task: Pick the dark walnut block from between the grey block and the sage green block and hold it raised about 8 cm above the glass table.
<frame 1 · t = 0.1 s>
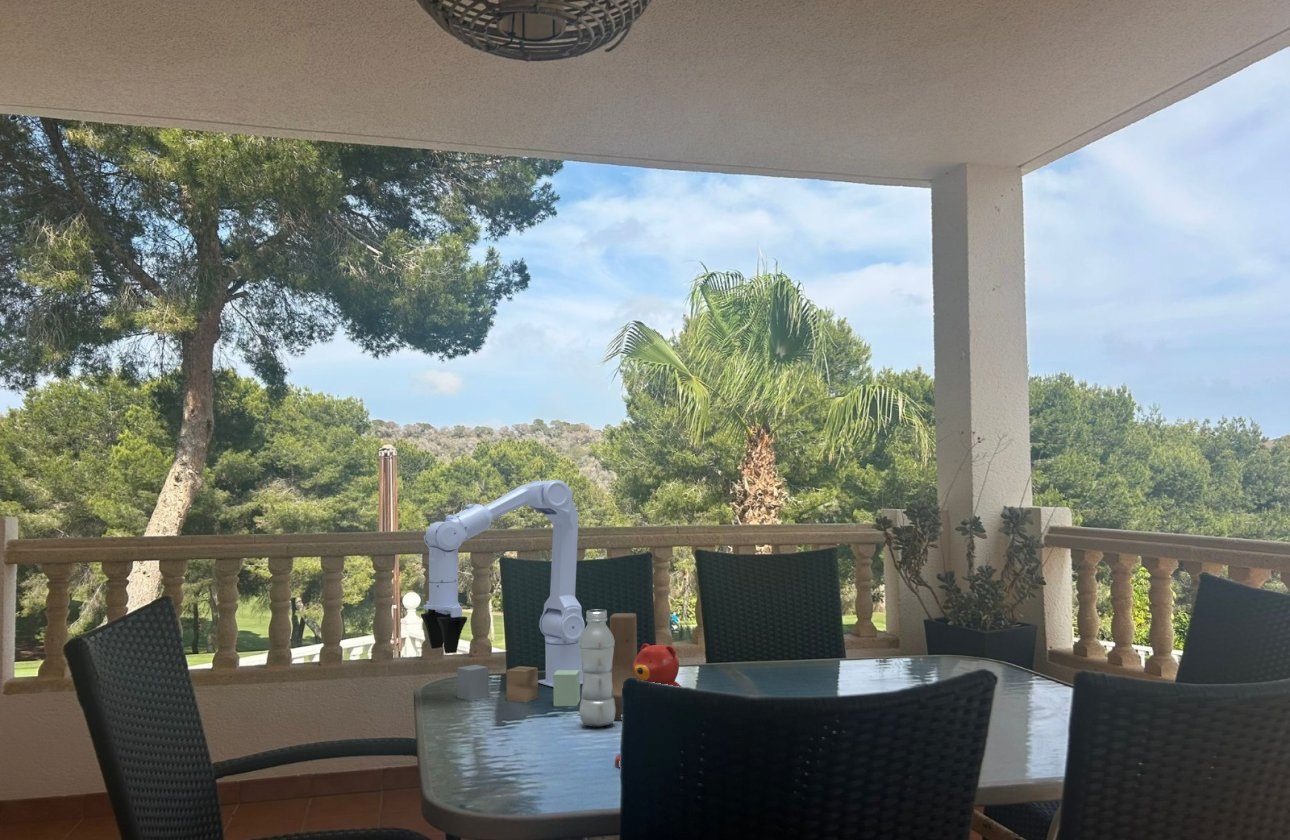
hand: (443, 650, 186), 10 cm above the table, tool pointing down, fingers open, 7 cm apart
sage block: (566, 703, 183), on the table
stacking bear: (658, 766, 140), on the table
walnut block: (522, 699, 187), on the table
grey block: (472, 697, 189), on the table
wooden block: (622, 716, 172), on the table
plastic bottle: (597, 726, 164), on the table
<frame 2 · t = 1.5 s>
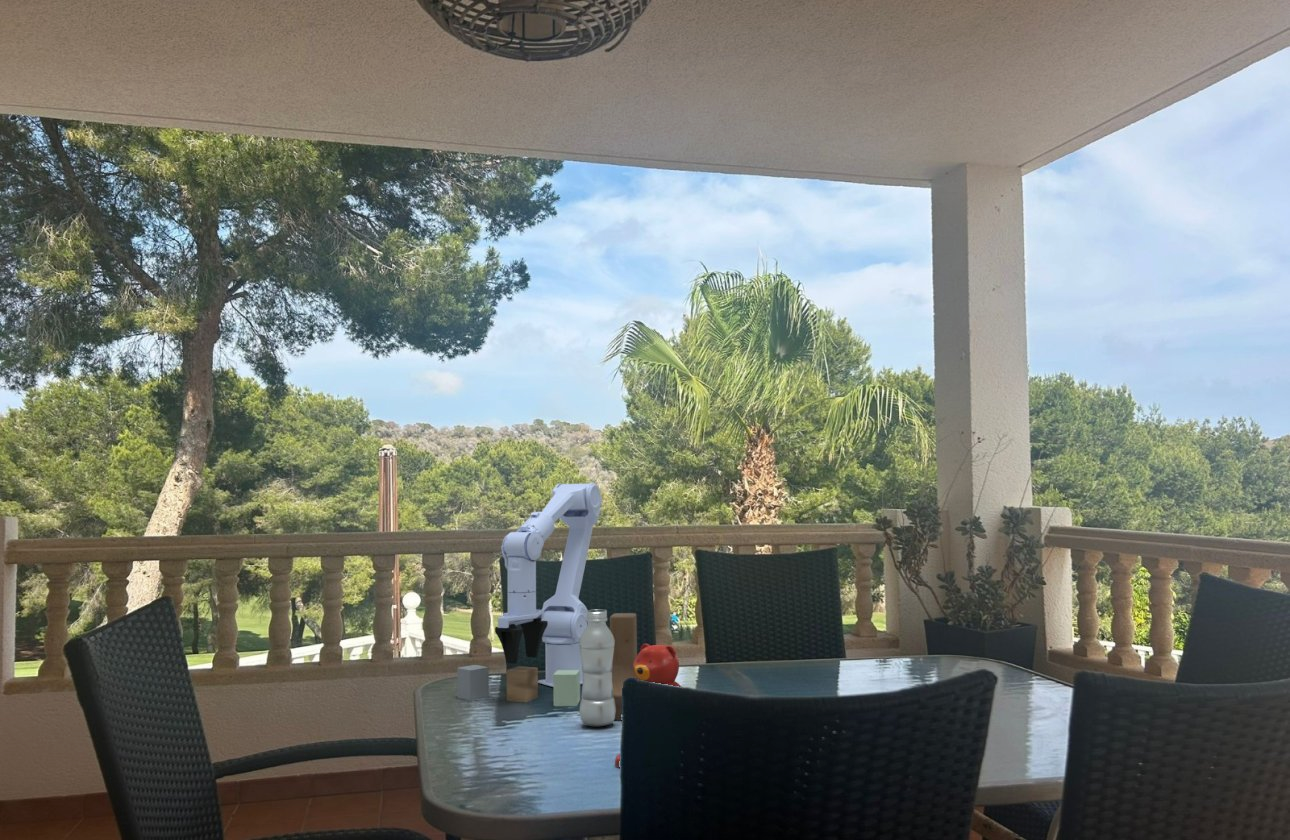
hand: (521, 660, 187), 8 cm above the table, tool pointing down, fingers open, 7 cm apart
nothing on the table moved.
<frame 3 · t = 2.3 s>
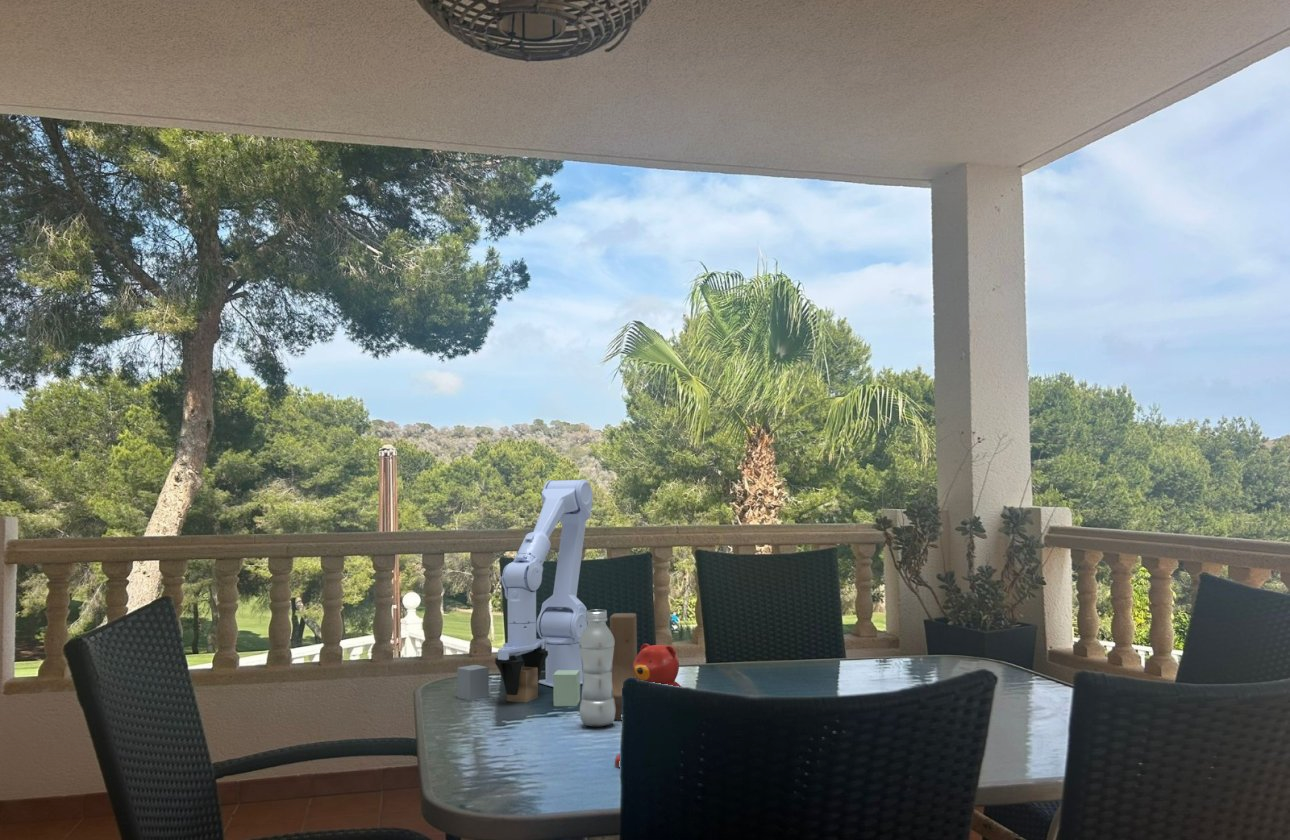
hand: (522, 690, 187), 2 cm above the table, tool pointing down, fingers open, 7 cm apart
nothing on the table moved.
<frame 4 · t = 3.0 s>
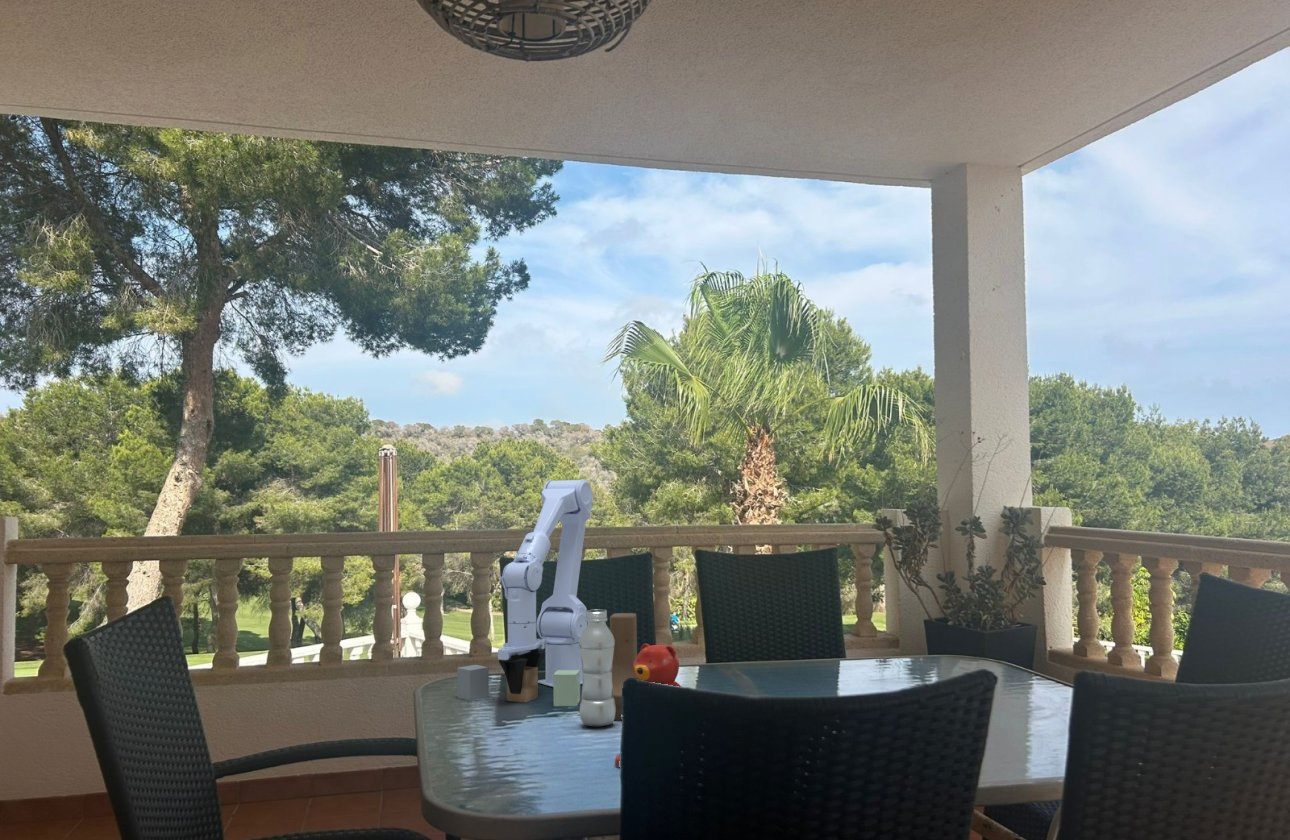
hand: (522, 690, 187), 2 cm above the table, tool pointing down, fingers closed on walnut block, 4 cm apart
walnut block: (522, 699, 187), on the table, touching gripper
everything else where it was.
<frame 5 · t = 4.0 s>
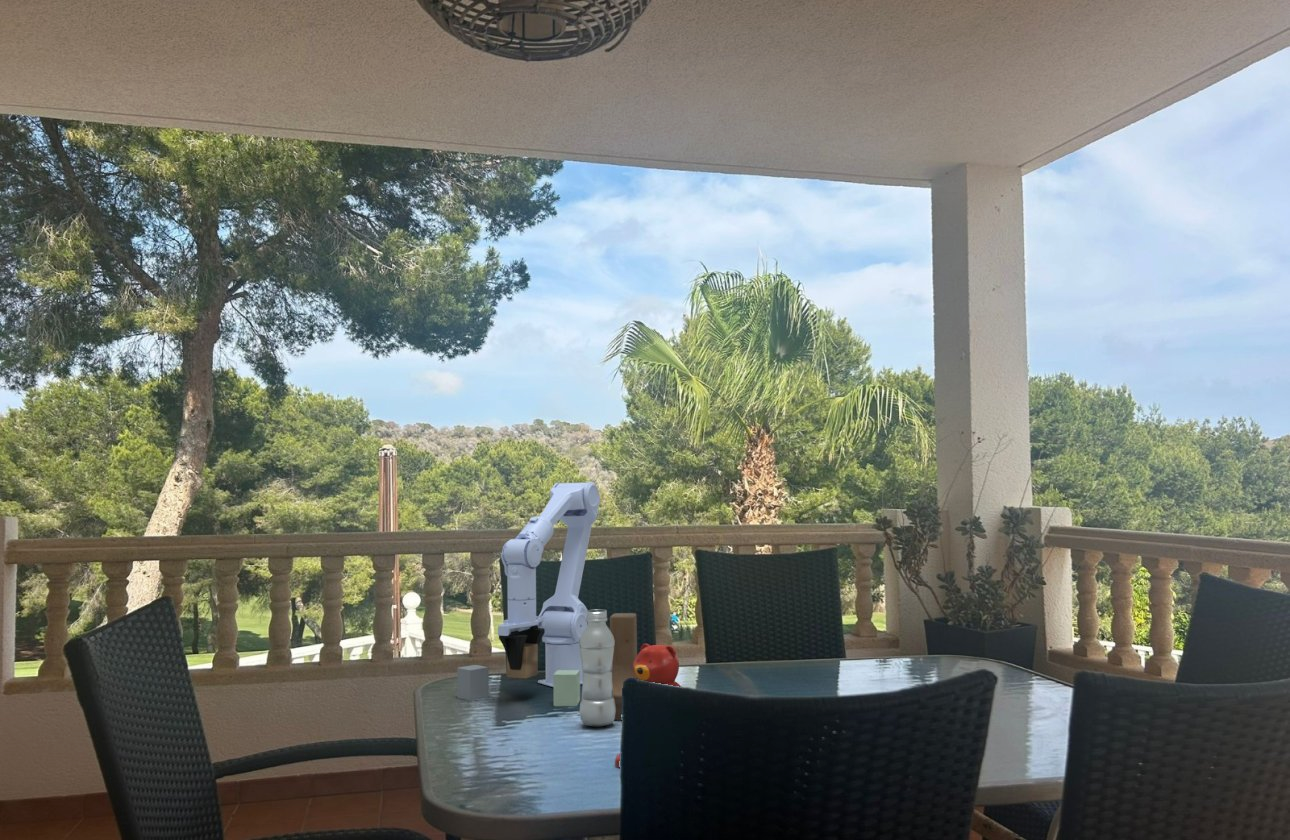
hand: (522, 667, 187), 6 cm above the table, tool pointing down, fingers closed on walnut block, 4 cm apart
walnut block: (522, 675, 187), point 5 cm above the table, touching gripper
everything else where it was.
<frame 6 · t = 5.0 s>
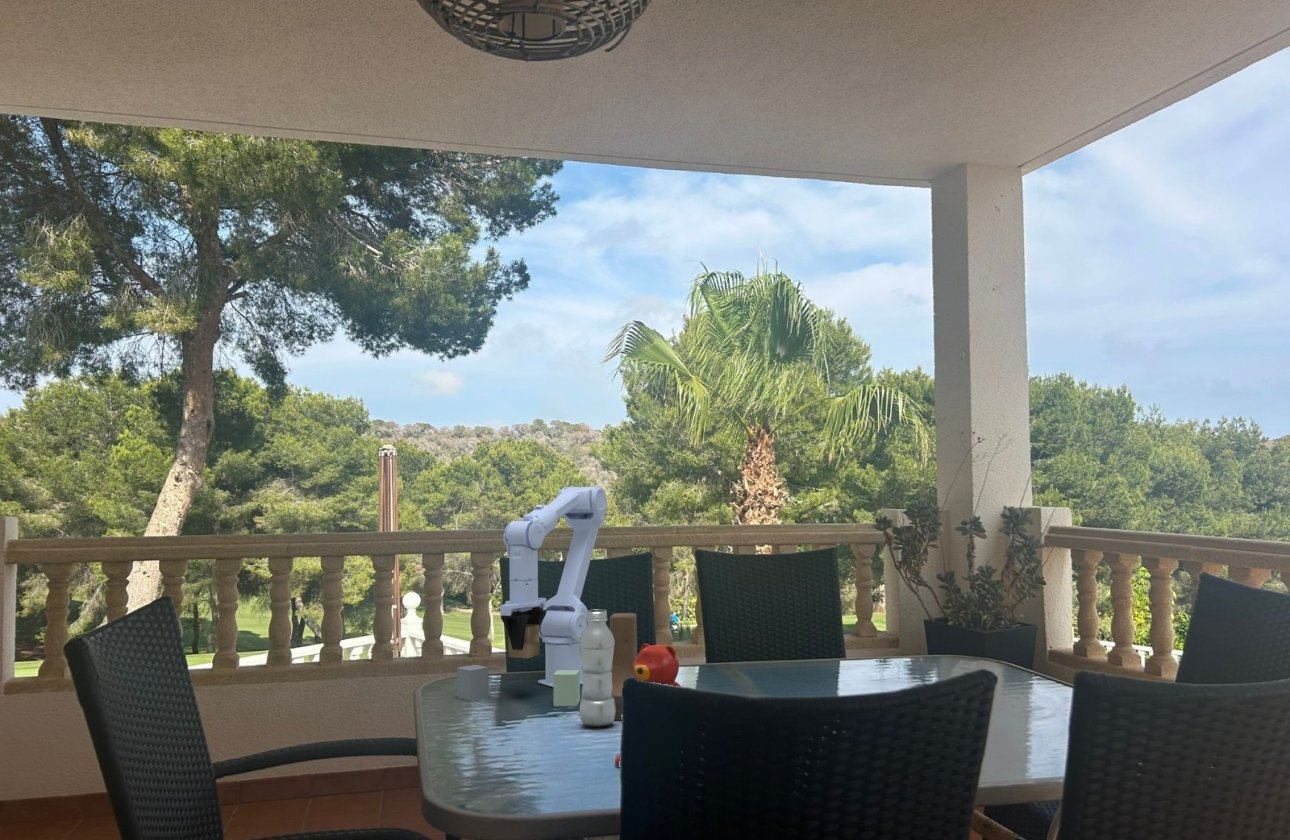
hand: (524, 647, 189), 10 cm above the table, tool pointing down, fingers closed on walnut block, 4 cm apart
walnut block: (524, 655, 189), point 8 cm above the table, touching gripper
everything else where it was.
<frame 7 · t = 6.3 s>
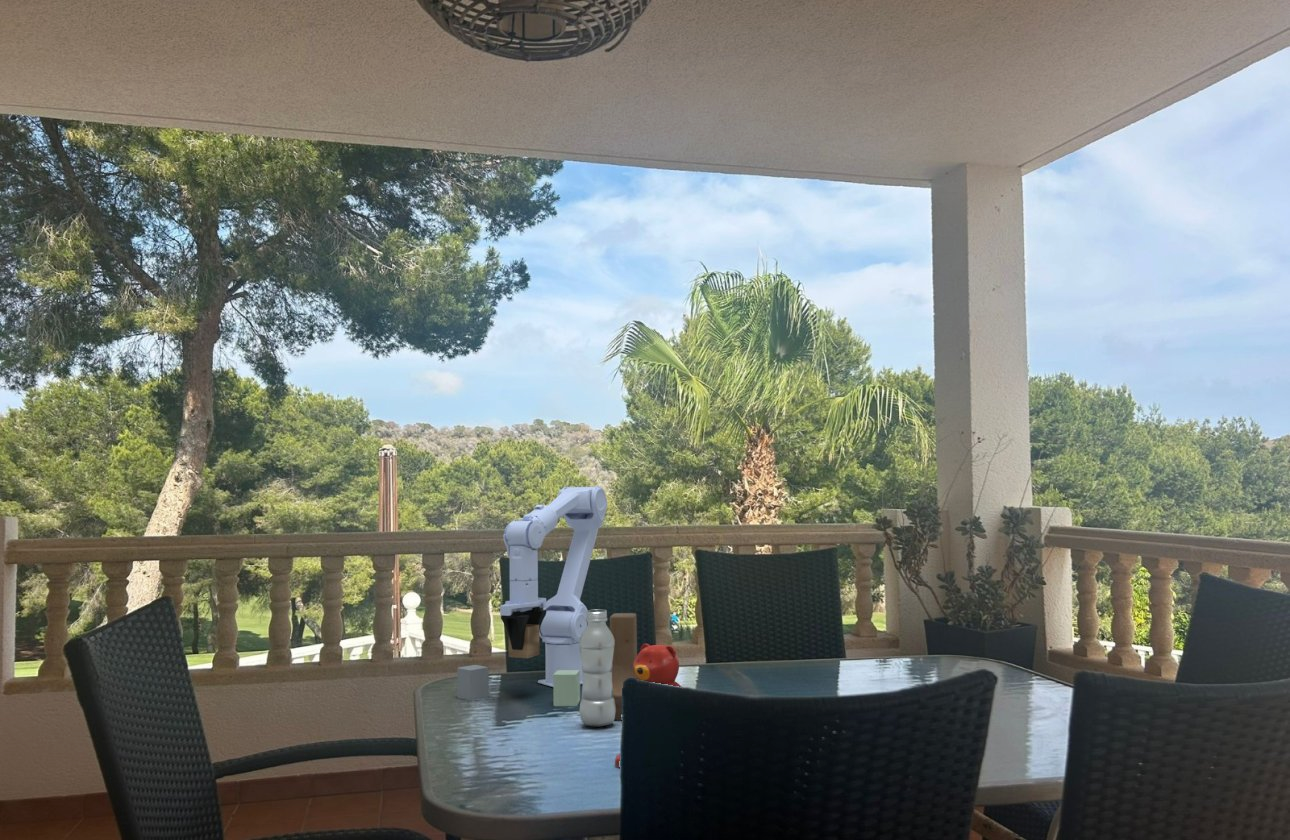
hand: (524, 647, 189), 10 cm above the table, tool pointing down, fingers closed on walnut block, 4 cm apart
walnut block: (524, 655, 189), point 8 cm above the table, touching gripper
everything else where it was.
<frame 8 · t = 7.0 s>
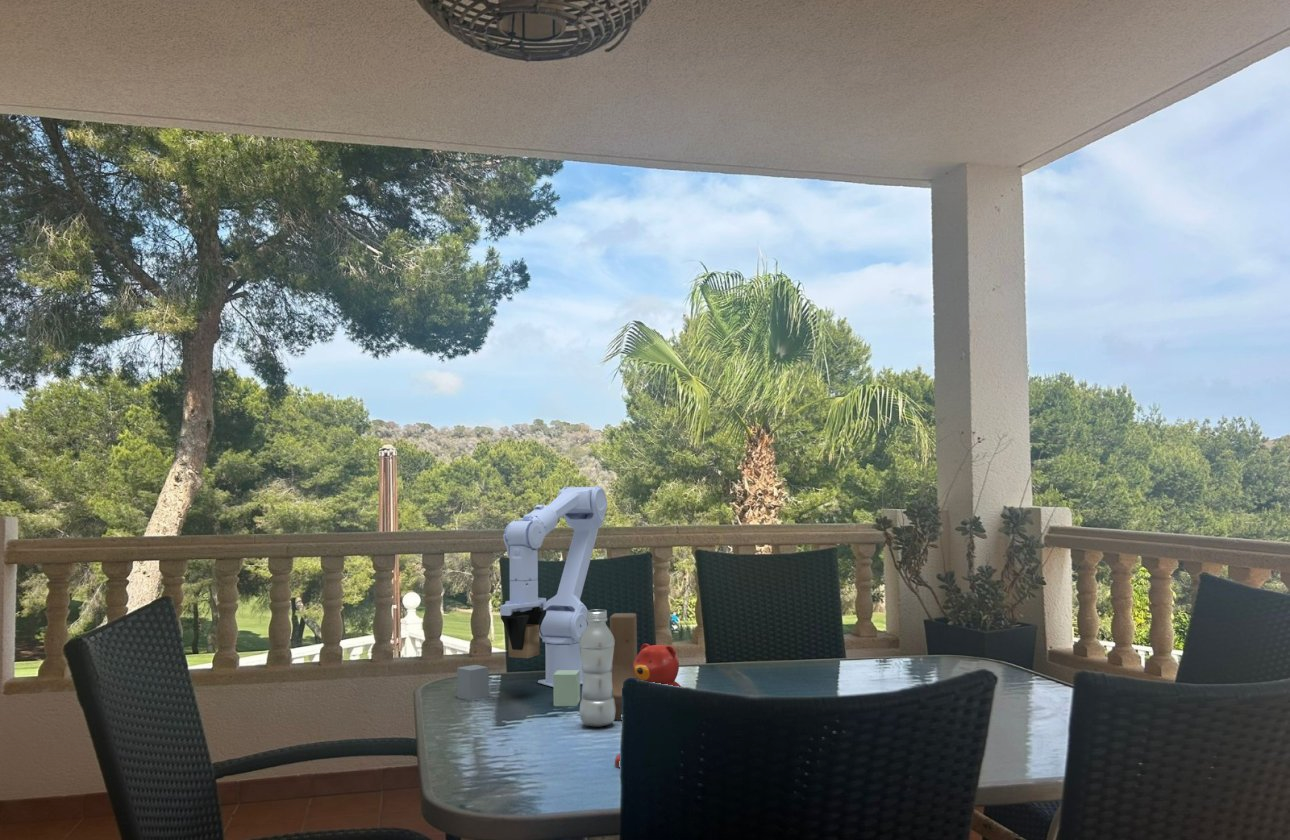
hand: (524, 647, 189), 10 cm above the table, tool pointing down, fingers closed on walnut block, 4 cm apart
walnut block: (524, 655, 189), point 8 cm above the table, touching gripper
everything else where it was.
at the end: the gripper is holding walnut block; walnut block point 8.3 cm above the table; grey block moved 0.1 cm from its start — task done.
